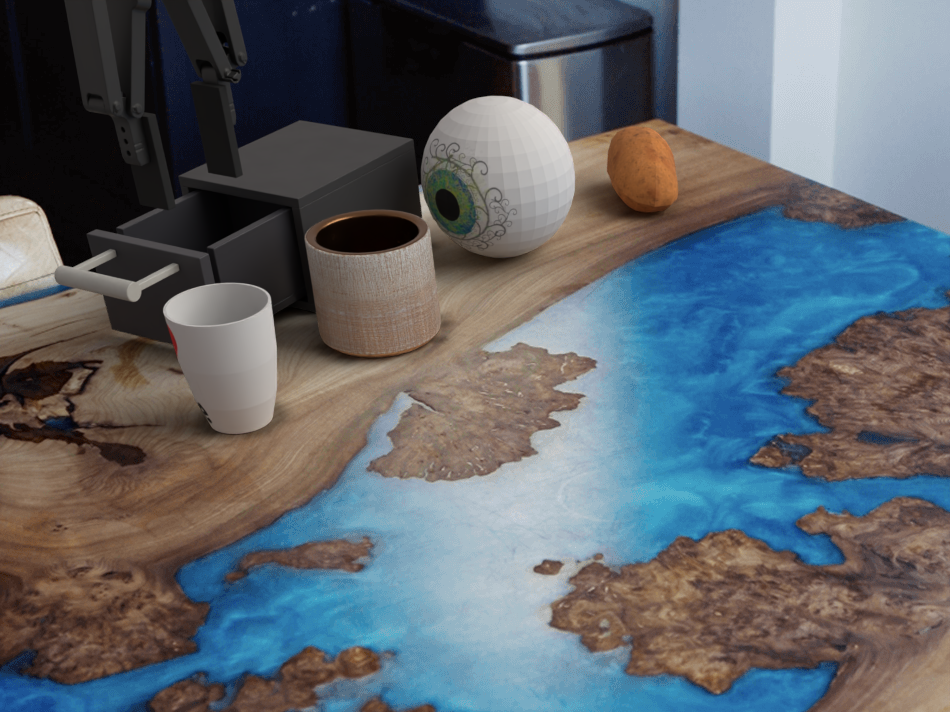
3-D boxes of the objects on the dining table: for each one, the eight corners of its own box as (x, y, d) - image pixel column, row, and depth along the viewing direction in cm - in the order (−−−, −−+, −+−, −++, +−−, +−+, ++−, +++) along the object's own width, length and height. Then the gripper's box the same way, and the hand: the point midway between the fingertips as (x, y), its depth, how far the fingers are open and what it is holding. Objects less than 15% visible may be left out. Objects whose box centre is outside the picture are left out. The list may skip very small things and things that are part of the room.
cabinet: (317, 313, 131) (297, 198, 125) (202, 287, 136) (177, 175, 130) (425, 246, 144) (413, 138, 137) (316, 224, 149) (299, 119, 142)
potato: (661, 177, 159) (670, 115, 154) (681, 229, 150) (692, 164, 145) (598, 174, 157) (605, 110, 153) (615, 225, 148) (623, 160, 144)
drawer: (170, 387, 118) (145, 286, 112) (59, 358, 122) (29, 259, 117) (337, 286, 134) (323, 193, 128) (233, 263, 138) (215, 172, 133)
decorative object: (399, 252, 142) (380, 99, 133) (514, 213, 150) (503, 66, 141) (493, 296, 134) (479, 135, 125) (609, 251, 142) (604, 98, 133)
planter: (458, 314, 131) (448, 212, 125) (417, 366, 122) (403, 260, 116) (349, 304, 133) (333, 204, 127) (300, 355, 124) (281, 250, 118)
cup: (218, 391, 119) (192, 279, 113) (308, 400, 118) (287, 286, 112) (173, 438, 113) (143, 322, 107) (267, 447, 111) (243, 330, 105)
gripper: (176, -194, 98) (240, 142, 112) (-51, -150, 84) (55, 226, 98) (261, -188, 95) (316, 156, 109) (42, -142, 81) (137, 244, 95)
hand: (192, 188), depth 104 cm, fingers open, 7 cm apart
